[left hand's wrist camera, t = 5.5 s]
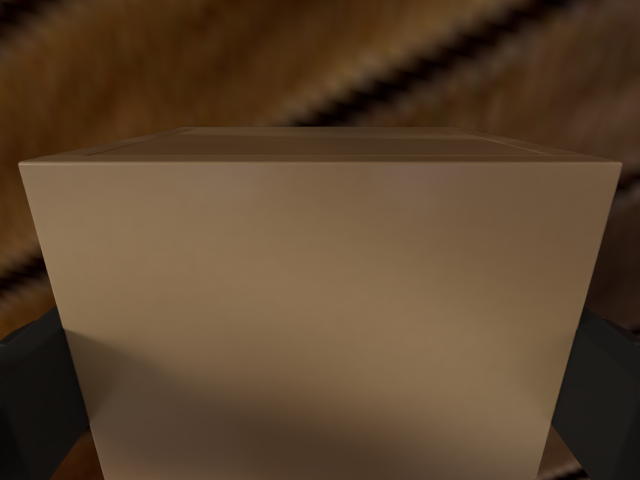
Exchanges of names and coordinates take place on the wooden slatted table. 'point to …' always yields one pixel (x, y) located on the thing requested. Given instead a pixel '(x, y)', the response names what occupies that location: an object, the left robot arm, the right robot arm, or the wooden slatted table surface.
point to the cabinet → (320, 297)
